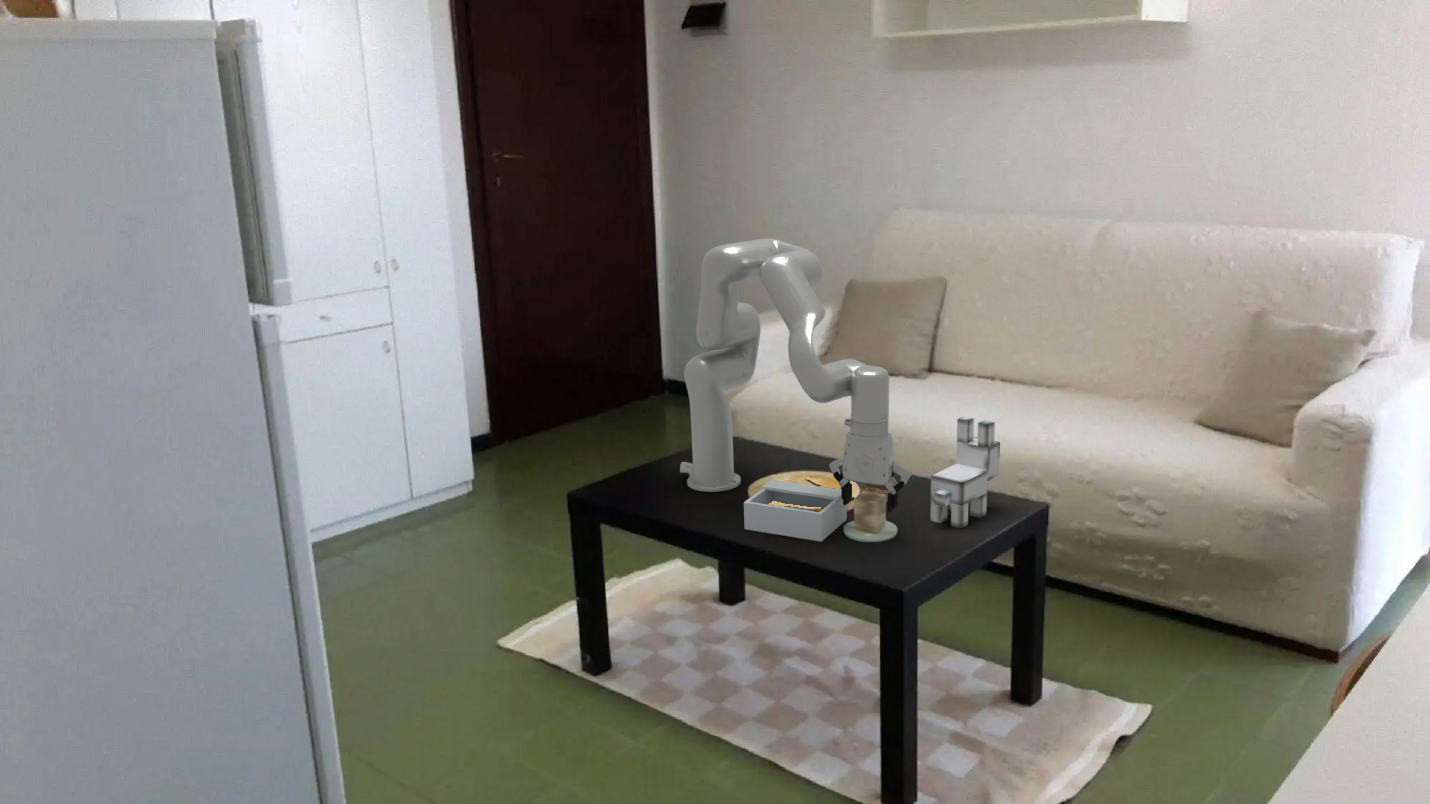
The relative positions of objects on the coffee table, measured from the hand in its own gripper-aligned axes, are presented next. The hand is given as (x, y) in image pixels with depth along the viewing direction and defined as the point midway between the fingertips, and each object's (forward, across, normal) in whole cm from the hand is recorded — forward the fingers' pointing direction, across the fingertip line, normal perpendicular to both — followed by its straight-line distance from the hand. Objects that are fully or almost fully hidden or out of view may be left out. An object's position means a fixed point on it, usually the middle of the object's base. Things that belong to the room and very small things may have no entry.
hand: (869, 506), depth 237 cm
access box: (+6, -16, -2) cm, 17 cm away
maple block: (+5, 0, 0) cm, 5 cm away
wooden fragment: (+6, -13, +22) cm, 26 cm away
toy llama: (+6, +15, +16) cm, 23 cm away
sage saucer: (+6, 0, 0) cm, 6 cm away
